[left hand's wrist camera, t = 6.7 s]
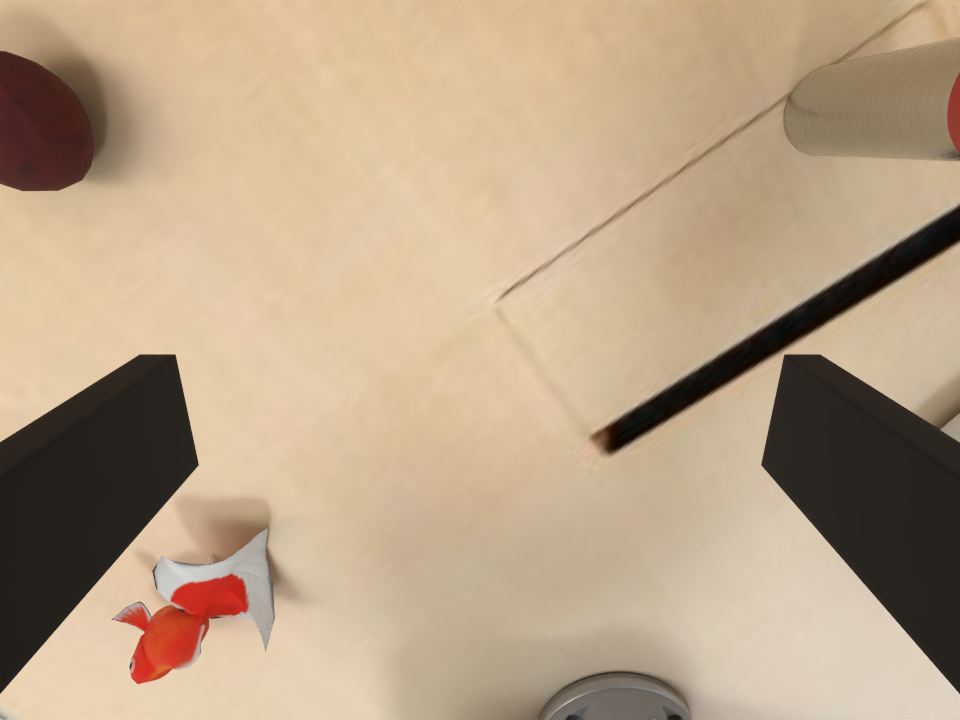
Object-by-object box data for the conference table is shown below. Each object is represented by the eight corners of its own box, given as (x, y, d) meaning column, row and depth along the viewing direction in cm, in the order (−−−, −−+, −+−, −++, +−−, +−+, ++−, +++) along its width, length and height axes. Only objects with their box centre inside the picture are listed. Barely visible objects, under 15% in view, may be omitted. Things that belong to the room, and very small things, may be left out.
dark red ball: (51, 33, 34) (-51, 8, 27) (145, 147, 36) (71, 149, 30) (-28, 107, 36) (-143, 99, 29) (67, 212, 38) (-19, 227, 31)
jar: (803, 56, 35) (1022, -1, 21) (882, 75, 35) (1149, 32, 21) (770, 145, 37) (950, 148, 23) (845, 163, 37) (1068, 176, 23)
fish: (54, 596, 44) (46, 704, 36) (226, 466, 48) (251, 541, 40) (154, 648, 51) (165, 749, 43) (298, 531, 54) (332, 605, 47)
